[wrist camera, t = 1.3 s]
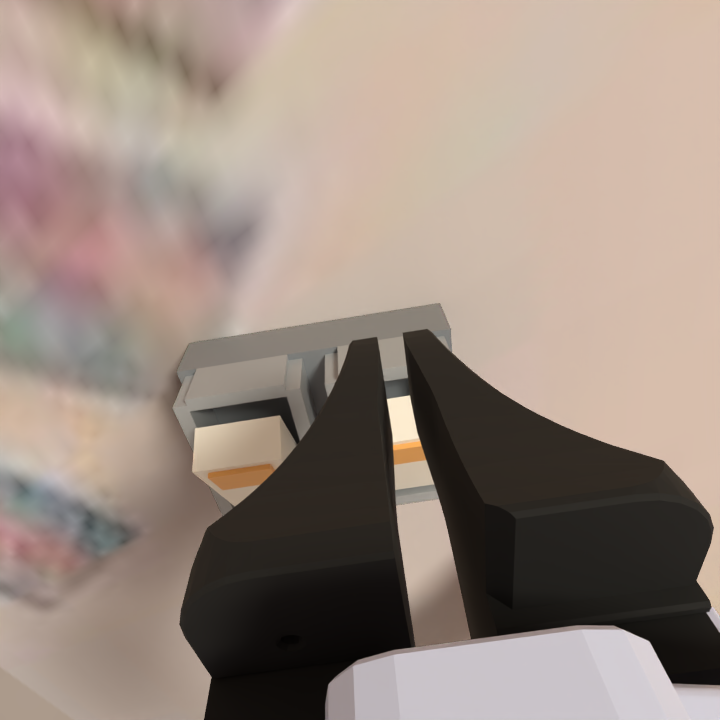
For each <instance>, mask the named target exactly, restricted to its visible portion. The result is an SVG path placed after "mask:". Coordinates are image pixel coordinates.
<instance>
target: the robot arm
mask: <svg viewBox="0 0 720 720" xmlns="http://www.w3.org/2000/svg"><path fill="white" fill-rule="evenodd" d="M403 340H404V349H405V357H406V366H407V374H408V382H409V391H410V399H411V404H412V409H413V414H414V419H415V424H416V429H417V433H418V436H419V439H420V442H421V446H422V449H423V452H424V455H425V458H426V461H427V464H428V467H429V470H430V473H431V476H432V479H433V482H434V485H435V488H436V491H437V494H438V497H439V500H440V503H441V506H442V510H443V513H444V517H445V521H446V524H447V529H448V534H449V538H450V543H451V547H452V552H453V556H454V561H455V565H456V570H457V575H458V579H459V584H460V588H461V593H462V598H463V602H464V607H465V612H466V617H467V622H468V626H469V631H470V636H471V640H465V641H457V642H450V643H442V644H435V645H428V646H420V647H415V641H414V634H413V628H412V621H411V614H410V608H409V601H408V594H407V587H406V580H405V574H404V567H403V560H402V553H401V546H400V540H399V533H398V524H397V513H396V494H395V474H394V454H393V435H392V429H391V422H390V416H389V409H388V403H387V396H386V389H385V383H384V376H383V370H382V363H381V357H380V350H379V344H378V339H377V337H372V338H366V339H359V340H353V341H352V342H351V343H350V344H349V347H348V351H347V355H346V358H345V361H344V363H343V366H342V368H341V371H340V373H339V376H338V378H337V380H336V382H335V384H334V386H333V389H332V391H331V393H330V395H329V396H328V398H327V400H326V402H325V403H324V405H323V407H322V409H321V411H320V412H319V414H318V416H317V417H316V419H315V420H314V422H313V424H312V425H311V426H310V428H309V429H308V431H307V432H306V434H305V435H304V436H303V438H302V439H301V440H300V442H299V443H298V444H297V445H296V447H295V448H294V449H293V450H292V452H291V453H290V454H289V455H288V457H287V458H286V459H285V460H284V461H283V462H282V463H281V465H280V466H279V467H278V468H277V469H276V470H275V471H274V472H273V473H272V474H271V475H270V476H269V477H268V478H267V479H266V480H265V481H264V482H263V483H262V484H261V485H260V486H258V487H257V488H256V489H255V490H254V491H253V492H252V493H251V494H250V495H249V496H247V497H246V498H245V499H244V500H243V501H241V502H240V503H239V504H238V505H236V506H235V507H234V508H233V509H231V510H230V511H229V512H227V513H226V514H225V515H224V516H222V517H221V518H220V519H219V520H217V521H216V522H215V523H213V524H212V525H211V526H209V527H208V528H207V529H206V532H205V535H204V537H203V540H202V542H201V545H200V548H199V550H198V552H197V555H196V558H195V560H194V563H193V566H192V569H191V573H190V577H189V581H188V585H187V589H186V593H185V597H184V600H183V604H182V608H181V615H180V626H181V629H182V631H183V634H184V636H185V638H186V640H187V641H188V642H189V644H190V645H191V647H192V648H193V650H194V651H195V653H196V654H197V656H198V657H199V659H200V660H201V662H202V663H203V665H204V666H205V668H206V669H207V671H208V672H209V674H210V675H211V677H212V679H211V684H210V690H209V695H208V701H207V706H206V712H205V718H204V720H720V616H719V615H718V613H717V612H716V610H715V609H714V608H713V607H711V604H710V600H709V599H708V597H707V596H706V594H705V593H704V591H703V590H702V588H701V587H700V585H699V584H698V583H697V581H696V580H697V577H698V575H699V572H700V569H701V567H702V564H703V562H704V559H705V557H706V554H707V552H708V549H709V547H710V544H711V540H712V534H713V529H714V527H713V524H712V520H711V517H710V514H709V513H708V512H707V510H706V509H705V508H704V507H703V505H702V504H701V503H700V502H699V500H698V499H697V498H696V497H695V495H694V494H693V493H692V491H691V490H690V489H689V488H688V487H687V485H686V484H685V483H684V482H683V481H682V480H681V479H680V478H679V477H678V476H677V475H676V474H675V473H674V471H673V470H672V469H671V468H670V467H669V466H668V465H667V464H666V463H665V462H664V461H663V460H659V459H656V458H653V457H649V456H646V455H643V454H639V453H636V452H633V451H629V450H626V449H623V448H619V447H616V446H613V445H610V444H607V443H604V442H601V441H599V440H596V439H593V438H591V437H588V436H586V435H583V434H580V433H578V432H575V431H573V430H571V429H568V428H566V427H564V426H561V425H559V424H557V423H555V422H553V421H551V420H549V419H547V418H545V417H543V416H541V415H538V414H536V413H535V412H533V411H531V410H529V409H527V408H525V407H523V406H522V405H520V404H519V403H517V402H515V401H514V400H512V399H510V398H509V397H507V396H505V395H504V394H502V393H501V392H499V391H498V390H496V389H495V388H494V387H492V386H491V385H490V384H488V383H487V382H486V381H484V380H483V379H482V378H480V377H479V376H478V375H477V374H475V373H474V372H473V371H472V370H471V369H469V368H468V367H467V366H466V365H465V364H464V363H463V362H461V361H460V360H459V359H458V358H457V357H456V356H455V355H454V354H453V353H452V352H451V351H450V350H449V349H448V348H447V347H446V346H445V345H444V344H443V343H442V342H441V341H440V340H439V339H438V338H437V337H436V336H435V335H434V334H433V333H432V332H431V331H430V330H429V329H423V330H416V331H410V332H404V333H403Z"/></svg>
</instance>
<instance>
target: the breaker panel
mask: <svg viewBox="0 0 720 720" xmlns="http://www.w3.org/2000/svg"><path fill="white" fill-rule="evenodd" d="M423 329H429V330H430V331H431V332H432V333H433V334H434V335H435V336H436V337H437V338H438V339H439V340H440V341H441V342H442V343H443V344H444V345H445V346H446V347H447V348H448V349H449V350H450V351H451V352H452V343H451V328H450V326H449V323H448V321H447V319H446V316H445V314H444V312H443V309H442V307H441V305H440V303H438V304H432V305H426V306H420V307H413V308H407V309H401V310H395V311H388V312H382V313H376V314H370V315H363V316H357V317H351V318H345V319H338V320H332V321H326V322H320V323H313V324H307V325H301V326H295V327H288V328H282V329H276V330H270V331H263V332H257V333H251V334H245V335H238V336H232V337H226V338H220V339H213V340H207V341H201V342H195V343H189V345H188V347H187V350H186V352H185V354H184V356H183V359H182V361H181V363H180V365H179V367H178V370H177V374H178V377H179V379H180V381H181V384H182V386H181V389H180V391H179V393H178V396H177V398H176V401H175V403H174V405H173V411H174V413H175V415H176V417H177V419H178V421H179V423H180V426H181V428H182V430H183V432H184V434H185V436H186V438H187V441H188V443H189V445H190V447H191V449H192V451H193V452H194V437H195V428H201V427H208V426H214V425H221V424H227V423H234V422H240V421H247V420H253V419H260V418H266V417H273V416H279V415H280V417H281V418H282V420H283V422H284V423H285V425H286V427H287V428H288V430H289V432H290V433H291V435H292V437H293V438H294V440H295V442H296V443H297V444H298V443H299V442H300V440H301V439H302V438H303V436H304V435H305V434H306V432H307V431H308V429H309V428H310V426H311V425H312V424H313V422H314V420H315V419H316V417H317V416H318V414H319V412H320V411H321V409H322V407H323V405H324V403H325V402H326V400H327V398H328V396H329V395H330V393H331V391H332V389H333V386H334V384H335V382H336V380H337V378H338V376H339V373H340V371H341V368H342V366H343V363H344V361H345V358H346V355H347V351H348V347H349V344H350V343H351V342H352V341H353V340H359V339H366V338H372V337H377V339H378V344H379V350H380V357H381V363H382V370H383V376H384V383H385V389H386V396H387V399H390V398H397V397H403V396H410V391H409V382H408V374H407V366H406V357H405V349H404V340H403V333H404V332H410V331H416V330H423ZM208 486H209V485H208ZM209 488H210V490H211V492H212V494H213V496H214V499H215V501H216V503H217V505H218V507H219V509H220V511H221V514H222V516H224V515H225V514H226V513H227V512H229V511H230V510H231V509H233V508H234V507H235V506H234V505H232V504H231V503H230V502H229V501H227V500H226V499H225V498H224V497H222V496H221V495H220V494H219V493H217V492H216V491H215V490H214V489H212V488H211V487H210V486H209ZM395 494H396V505H402V504H409V503H416V502H423V501H430V500H437V499H439V497H438V494H437V491H436V488H435V485H434V484H433V485H426V486H419V487H413V488H406V489H399V490H395Z"/></svg>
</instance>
